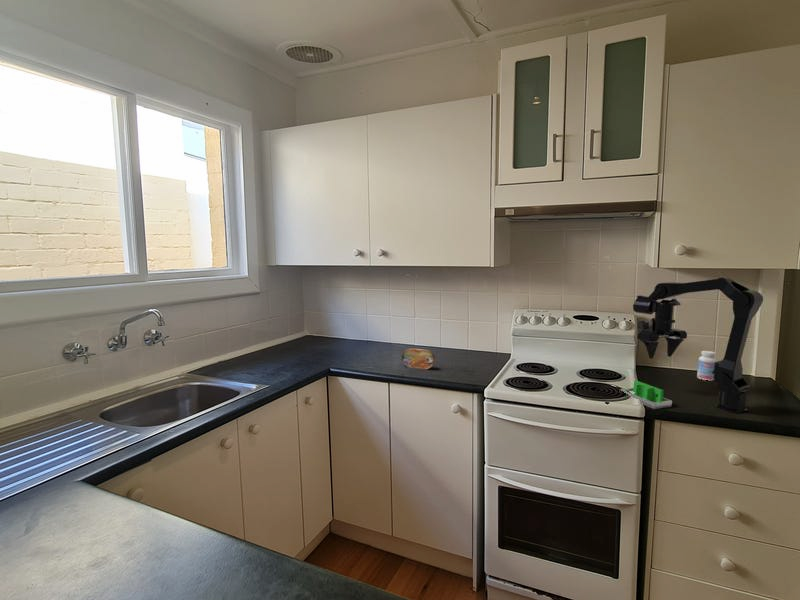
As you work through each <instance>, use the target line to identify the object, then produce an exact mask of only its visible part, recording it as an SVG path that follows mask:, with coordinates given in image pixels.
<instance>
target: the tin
mask: <svg viewBox="0 0 800 600" xmlns="http://www.w3.org/2000/svg"><path fill="white" fill-rule="evenodd" d="M401 361H402V364H404V366H406V367H407V368H411V369H418V370H419V369H420V370H429V369H430V368H432V367H433V366H434V365H435V363H436V362H435V361H436V357H435V354H434V353H433V352H432V351H431V350H429V349H420V348H414V347H413V348H412V347H410V348H407V349H404V351H402V354H401Z"/></svg>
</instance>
